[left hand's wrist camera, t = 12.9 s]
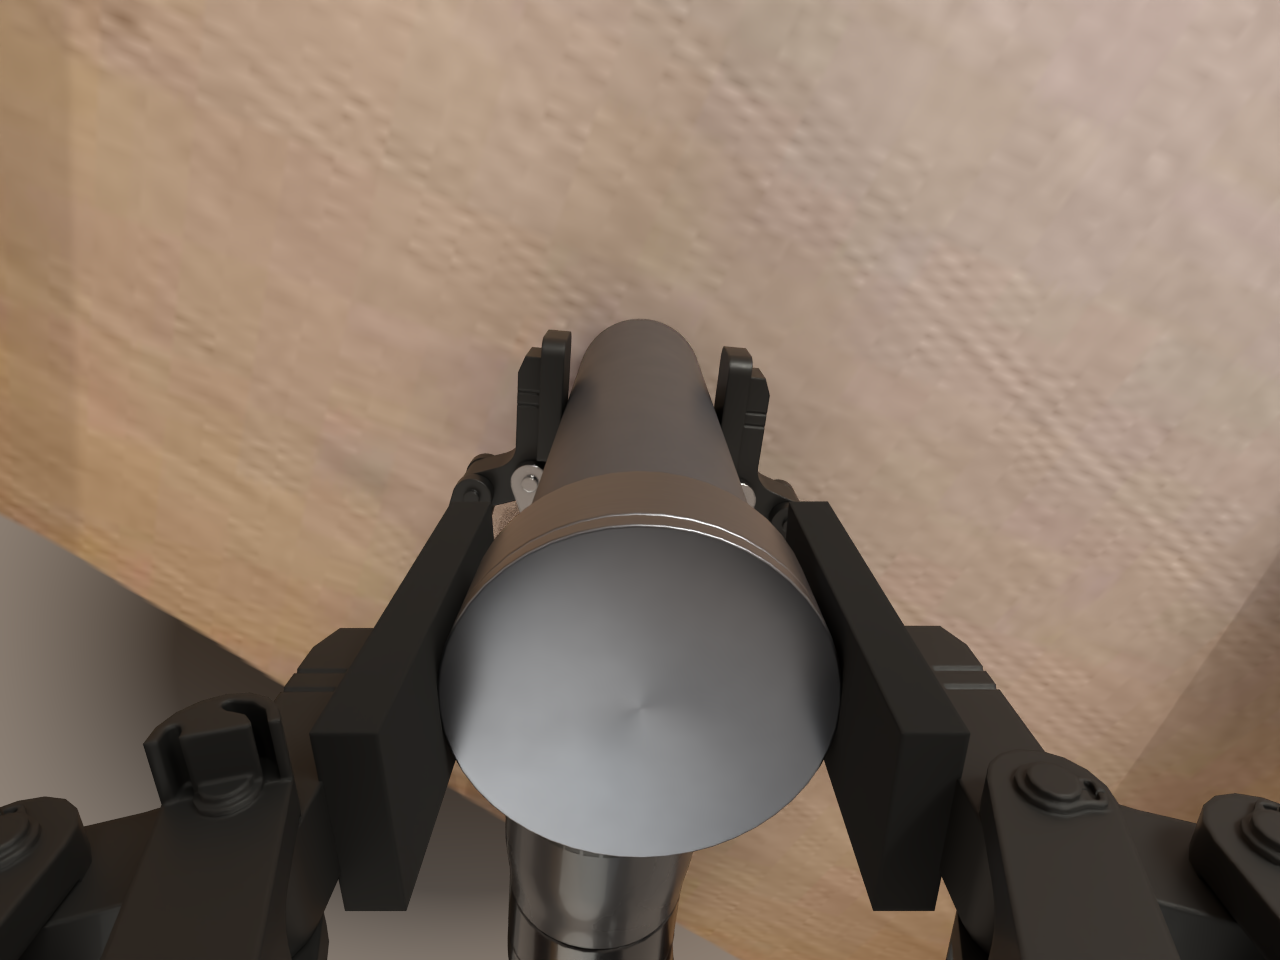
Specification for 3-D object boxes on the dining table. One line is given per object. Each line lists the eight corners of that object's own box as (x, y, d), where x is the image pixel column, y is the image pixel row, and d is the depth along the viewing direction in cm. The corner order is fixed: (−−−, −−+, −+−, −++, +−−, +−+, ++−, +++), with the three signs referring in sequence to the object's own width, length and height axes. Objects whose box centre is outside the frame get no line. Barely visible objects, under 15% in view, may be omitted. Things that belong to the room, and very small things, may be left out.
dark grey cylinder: (672, 453, 30) (722, 846, 12) (563, 412, 30) (438, 761, 11) (719, 345, 29) (860, 609, 10) (604, 299, 28) (537, 494, 10)
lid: (726, 801, 14) (740, 898, 12) (427, 709, 13) (391, 797, 11) (872, 542, 12) (917, 609, 10) (531, 416, 11) (508, 461, 9)
